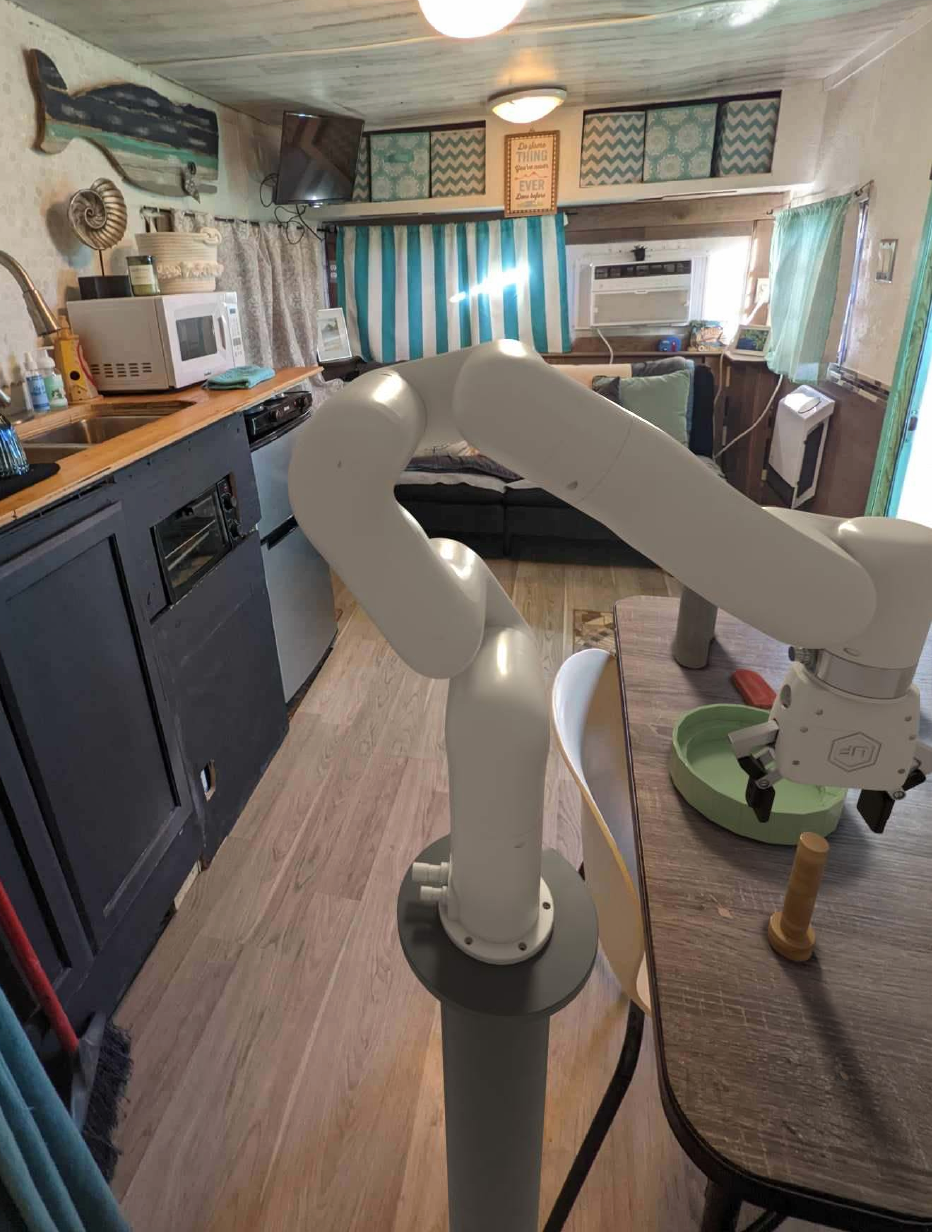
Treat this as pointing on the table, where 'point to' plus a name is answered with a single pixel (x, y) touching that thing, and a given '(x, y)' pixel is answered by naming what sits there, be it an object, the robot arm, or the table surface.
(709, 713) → the bowl
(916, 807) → the table surface
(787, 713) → the robot arm
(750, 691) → the popsicle
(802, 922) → the wooden peg
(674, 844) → the table surface
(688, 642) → the flask
